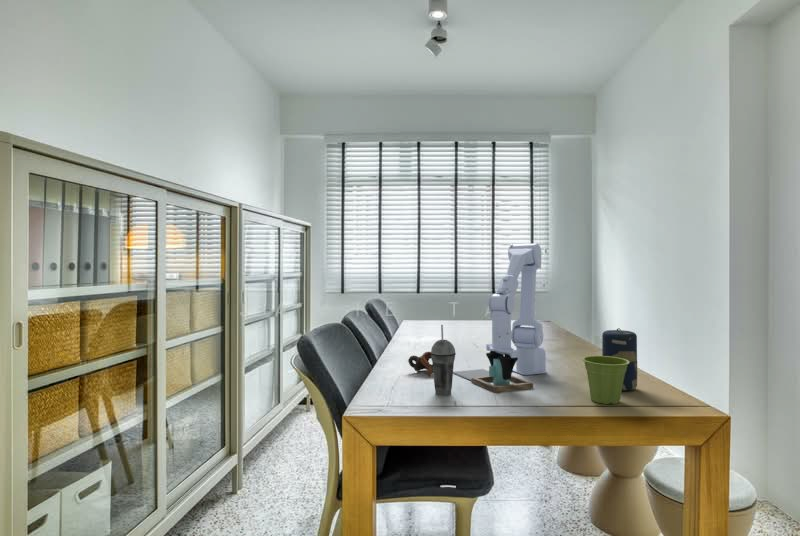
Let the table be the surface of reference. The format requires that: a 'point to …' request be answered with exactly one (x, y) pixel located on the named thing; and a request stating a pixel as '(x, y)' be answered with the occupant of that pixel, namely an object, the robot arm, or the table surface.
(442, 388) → the beverage cup
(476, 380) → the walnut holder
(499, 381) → the teal jug
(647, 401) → the table surface
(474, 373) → the gray mat
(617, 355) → the canister
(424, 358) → the brown looped knot
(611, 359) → the plant pot
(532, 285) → the robot arm
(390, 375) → the table surface
